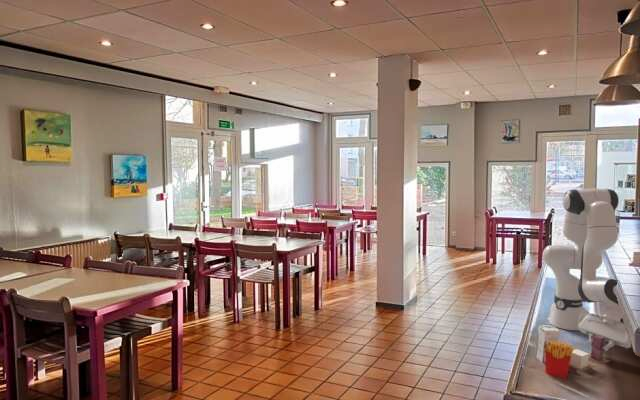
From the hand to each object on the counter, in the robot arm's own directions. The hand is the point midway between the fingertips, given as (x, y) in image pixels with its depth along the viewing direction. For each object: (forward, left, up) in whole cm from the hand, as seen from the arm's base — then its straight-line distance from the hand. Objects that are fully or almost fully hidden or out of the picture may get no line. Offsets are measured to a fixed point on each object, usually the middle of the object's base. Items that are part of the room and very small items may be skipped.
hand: (596, 347), depth 202 cm
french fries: (+27, +1, -6) cm, 28 cm away
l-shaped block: (+8, 0, -6) cm, 10 cm away
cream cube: (+12, 0, -5) cm, 13 cm away
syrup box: (+19, -9, -6) cm, 22 cm away
